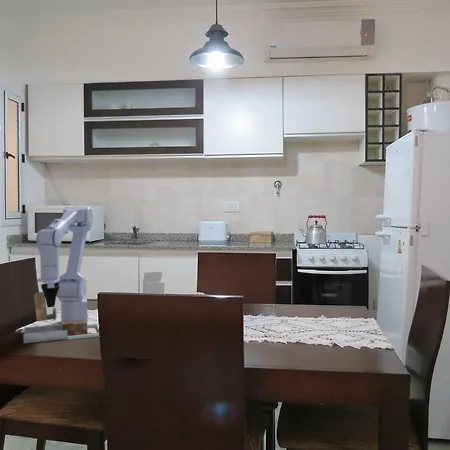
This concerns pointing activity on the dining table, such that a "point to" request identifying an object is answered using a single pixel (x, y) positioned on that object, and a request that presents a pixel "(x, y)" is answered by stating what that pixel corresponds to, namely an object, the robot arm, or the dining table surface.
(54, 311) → the tan block
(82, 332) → the walnut block
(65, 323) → the walnut block
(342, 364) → the dining table surface
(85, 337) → the tray
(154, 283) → the milk
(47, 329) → the silver metal tray
